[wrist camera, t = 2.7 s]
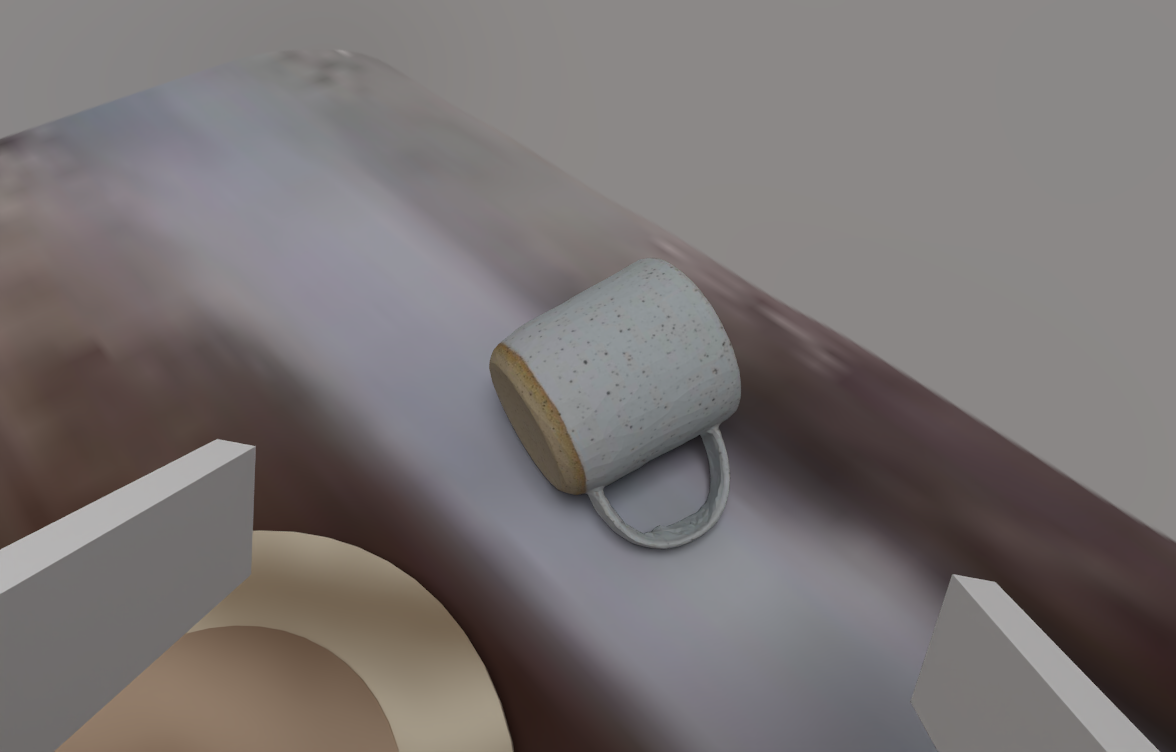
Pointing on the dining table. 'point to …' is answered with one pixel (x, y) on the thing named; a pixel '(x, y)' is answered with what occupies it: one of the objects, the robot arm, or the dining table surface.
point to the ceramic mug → (623, 389)
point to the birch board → (310, 667)
